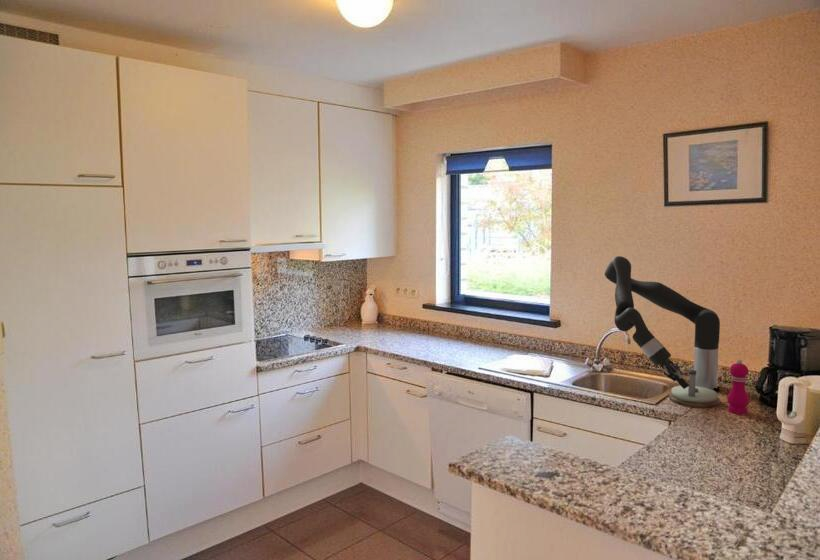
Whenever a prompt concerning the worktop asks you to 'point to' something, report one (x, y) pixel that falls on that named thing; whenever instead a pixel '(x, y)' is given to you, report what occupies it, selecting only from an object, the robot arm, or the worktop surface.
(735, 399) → the pepper mill
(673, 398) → the grey flat disc
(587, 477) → the worktop surface
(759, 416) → the worktop surface
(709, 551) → the worktop surface
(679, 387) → the dial
